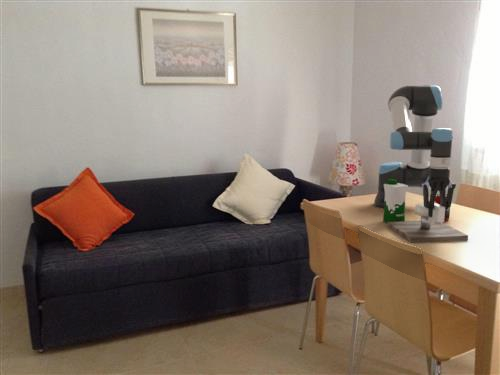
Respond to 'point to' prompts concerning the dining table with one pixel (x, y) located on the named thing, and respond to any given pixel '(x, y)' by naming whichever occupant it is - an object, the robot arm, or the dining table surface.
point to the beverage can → (447, 212)
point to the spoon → (423, 211)
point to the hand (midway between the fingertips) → (435, 224)
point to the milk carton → (394, 201)
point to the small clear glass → (425, 223)
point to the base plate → (426, 232)
